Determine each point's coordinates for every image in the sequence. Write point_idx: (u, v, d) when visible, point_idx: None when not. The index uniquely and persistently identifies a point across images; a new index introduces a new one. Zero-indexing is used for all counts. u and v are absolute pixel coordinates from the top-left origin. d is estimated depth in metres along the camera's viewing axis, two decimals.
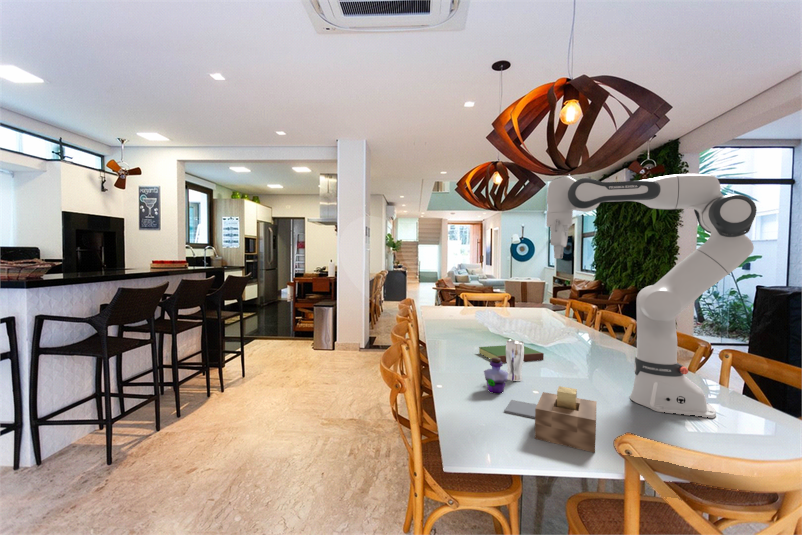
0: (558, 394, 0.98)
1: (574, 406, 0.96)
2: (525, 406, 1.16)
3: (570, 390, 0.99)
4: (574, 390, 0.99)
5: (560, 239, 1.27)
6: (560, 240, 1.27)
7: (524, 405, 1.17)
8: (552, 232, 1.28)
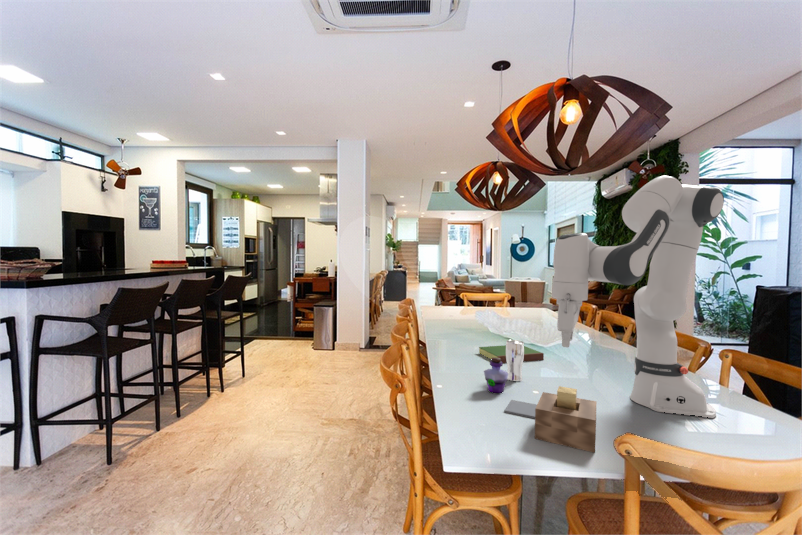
0: (558, 394, 0.98)
1: (574, 406, 0.96)
2: (525, 406, 1.16)
3: (570, 390, 0.99)
4: (574, 390, 0.99)
5: (571, 325, 0.90)
6: (571, 326, 0.90)
7: (524, 405, 1.17)
8: (560, 314, 0.91)
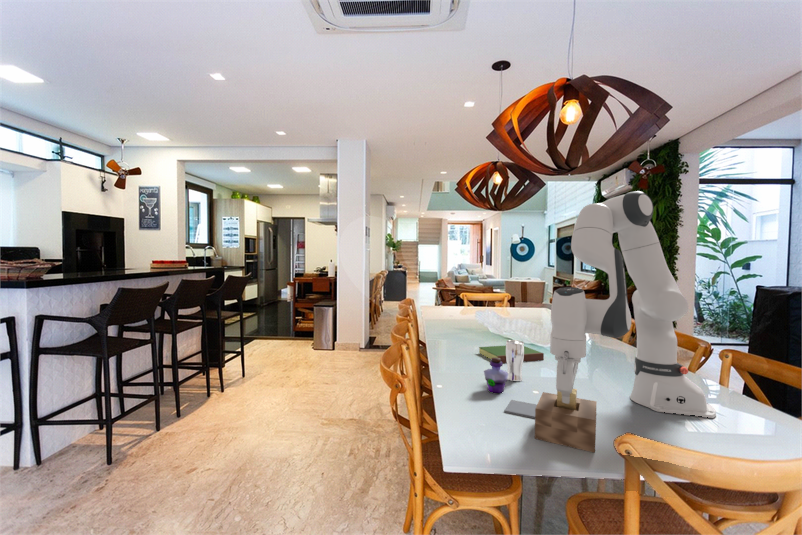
0: (558, 394, 0.98)
1: (574, 406, 0.96)
2: (525, 406, 1.16)
3: None
4: (574, 390, 0.99)
5: (570, 386, 0.89)
6: (570, 388, 0.89)
7: (524, 405, 1.17)
8: (558, 374, 0.91)
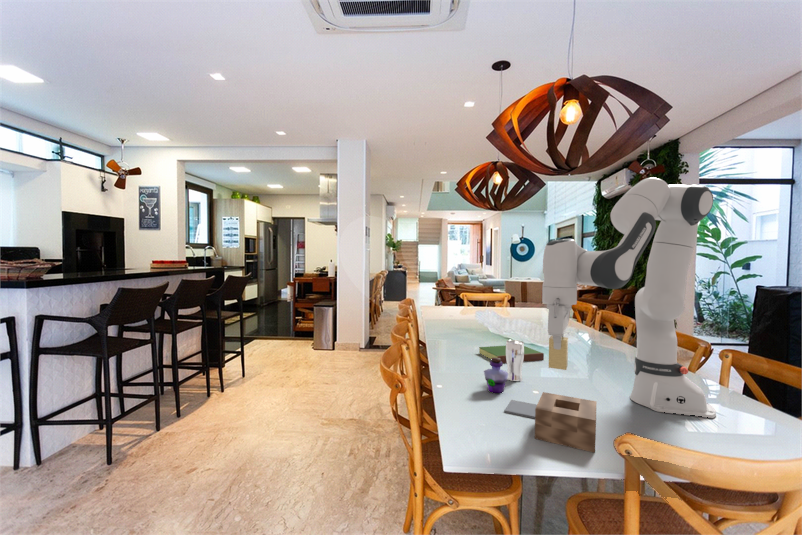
0: (550, 341, 1.01)
1: (566, 352, 0.99)
2: (525, 406, 1.16)
3: (561, 338, 1.02)
4: (565, 338, 1.01)
5: (561, 329, 0.92)
6: (561, 330, 0.92)
7: (524, 405, 1.17)
8: (550, 318, 0.94)
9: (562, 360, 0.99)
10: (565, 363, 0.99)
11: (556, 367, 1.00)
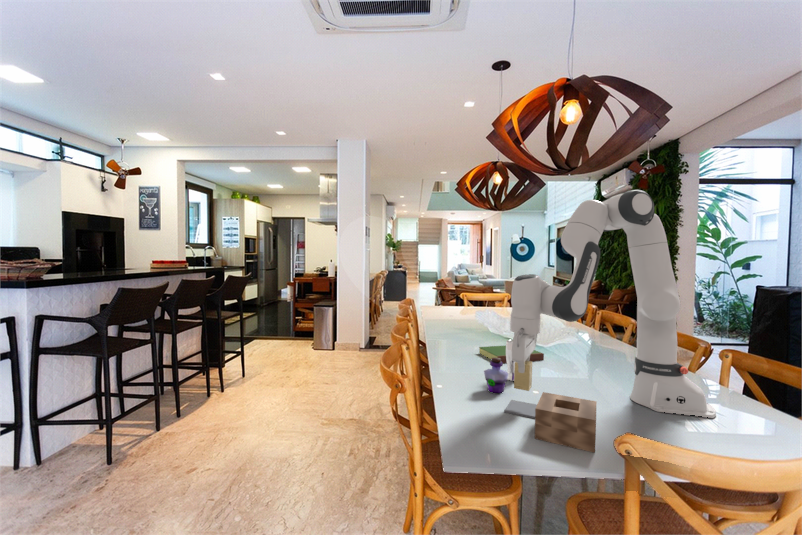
0: (515, 365, 1.14)
1: (528, 376, 1.12)
2: (525, 406, 1.16)
3: (526, 362, 1.15)
4: (529, 362, 1.15)
5: (522, 357, 1.05)
6: (522, 358, 1.05)
7: (524, 405, 1.17)
8: (513, 347, 1.07)
9: (525, 382, 1.13)
10: (528, 385, 1.12)
11: (520, 388, 1.13)
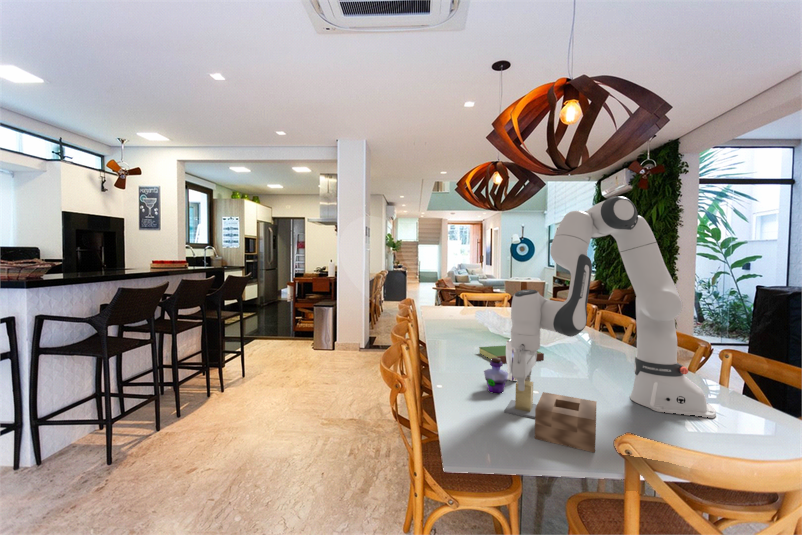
0: (516, 386, 1.14)
1: (530, 396, 1.12)
2: None
3: (527, 382, 1.15)
4: (530, 382, 1.15)
5: (523, 374, 1.05)
6: (523, 375, 1.05)
7: None
8: (514, 363, 1.07)
9: (526, 403, 1.12)
10: (529, 406, 1.12)
11: (522, 409, 1.13)
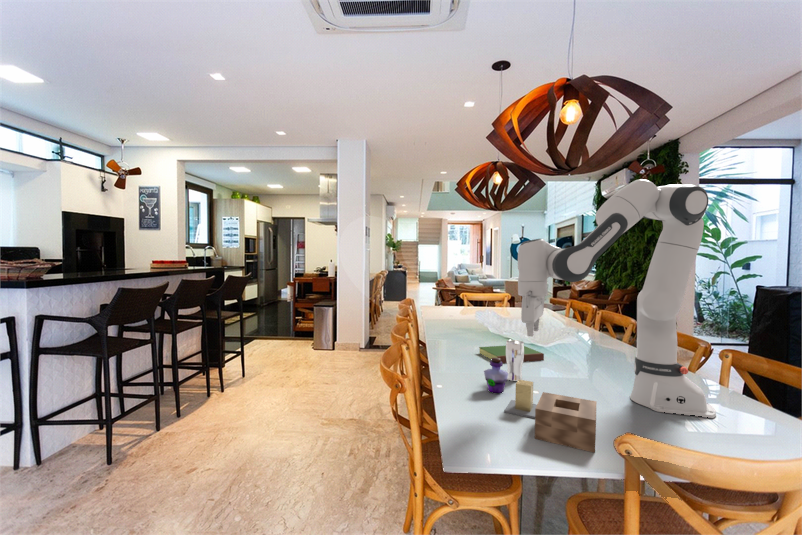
0: (516, 386, 1.14)
1: (530, 396, 1.12)
2: None
3: (527, 382, 1.15)
4: (530, 382, 1.15)
5: (532, 317, 1.07)
6: (532, 318, 1.07)
7: None
8: (523, 308, 1.08)
9: (526, 403, 1.12)
10: (529, 406, 1.12)
11: (522, 409, 1.13)
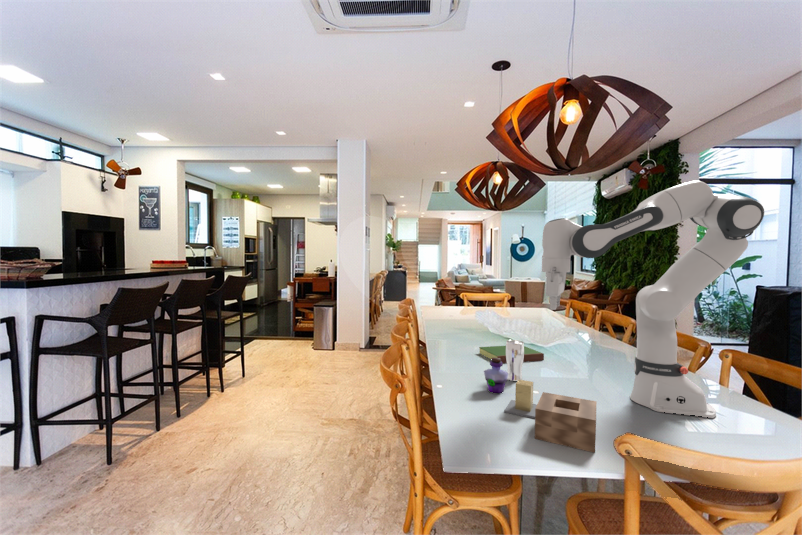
0: (516, 386, 1.14)
1: (530, 396, 1.12)
2: None
3: (527, 382, 1.15)
4: (530, 382, 1.15)
5: (556, 290, 1.14)
6: (556, 291, 1.14)
7: None
8: (547, 282, 1.15)
9: (526, 403, 1.12)
10: (529, 406, 1.12)
11: (522, 409, 1.13)
